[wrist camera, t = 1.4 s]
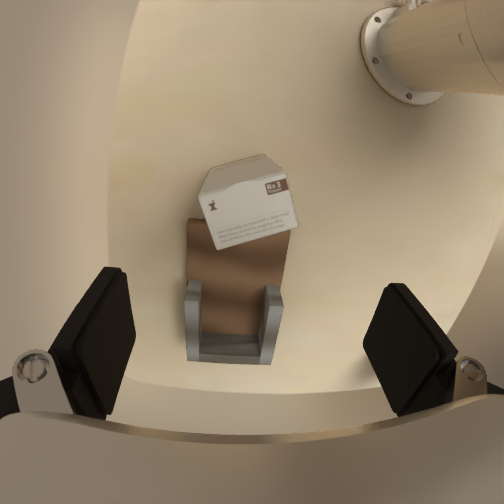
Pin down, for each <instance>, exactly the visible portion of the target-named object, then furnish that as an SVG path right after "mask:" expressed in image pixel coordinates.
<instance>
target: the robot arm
mask: <svg viewBox="0 0 504 504" xmlns="http://www.w3.org/2000/svg"><path fill="white" fill-rule="evenodd" d="M361 48H362V53H363V56H364V60H365V62H366V64H367V67H368V69H369V71H370V72H371V74H372V75H373V77H374V78H375V80H376V81H377V82H378V83H379V85H380V86H381V87H382V88H383V89H384V90H385V91H387V92H388V93H389V94H390V95H392V96H393V97H395V98H396V99H398V100H400V101H403V102H405V103H408V104H413V105H427V104H431V103H433V102H436V101H437V100H438V99H440V98H441V97H442V96H443V95H444V93H445V92H463V93H480V94H492V95H502V96H504V0H421V6H419V7H417V0H406V5H404V6H403V7H401V8H397V7H388V8H384V9H381V10H378V11H377V12H375V13H373V14H372V15H371V16H370V17H369V18H368V19H367V20H366V22H365V24H364V26H363V29H362V32H361ZM372 61H373V62H372ZM406 96H407V97H406ZM135 338H136V331H135V326H134V320H133V315H132V309H131V303H130V297H129V290H128V283H127V276H126V273H124V272H122V270H121V269H120V268H116V267H104V268H103V269H102V270H101V272H100V273H99V274H98V276H97V277H96V279H95V280H94V281H93V283H92V284H91V286H90V287H89V289H88V290H87V291H86V293H85V294H84V296H83V297H82V299H81V300H80V302H79V303H78V304H77V305H76V307H75V309H74V310H73V311H72V313H71V315H70V316H69V318H68V319H67V321H66V323H65V324H64V326H63V327H62V329H61V330H60V332H59V334H58V336H57V337H56V338H55V340H54V342H53V344H52V345H51V347H50V349H49V350H48V352H46V351H43V350H38V349H34V350H29V351H27V352H25V353H23V354H22V355H20V356H19V357H18V358H17V360H16V361H15V362H14V365H13V368H12V375H13V376H11V377H9V378H6V379H4V380H1V381H0V504H504V389H502V388H500V387H498V386H496V385H493V384H491V383H489V382H487V374H486V370H485V369H484V367H483V365H482V364H481V363H480V362H479V361H477V360H476V359H474V358H472V357H468V356H463V357H460V358H459V359H458V360H457V362H456V361H455V360H454V358H455V357H456V355H457V353H458V350H457V349H456V348H455V346H454V345H453V344H452V342H451V341H450V340H449V338H448V337H447V336H446V334H445V333H444V332H443V330H442V329H441V328H440V327H439V325H438V324H437V323H436V321H435V320H434V319H433V318H432V316H431V315H430V314H429V313H428V311H427V310H426V309H425V308H424V307H423V305H422V304H421V303H420V302H419V300H418V299H417V298H416V297H415V296H414V294H413V293H412V292H411V291H410V290H409V289H408V287H407V286H406V285H405V284H403V283H390V284H389V285H388V286H387V287H385V288H384V290H383V293H382V296H381V298H380V301H379V303H378V306H377V308H376V311H375V313H374V316H373V318H372V321H371V323H370V326H369V328H368V330H367V333H366V335H365V337H364V340H363V348H364V350H365V352H366V354H367V356H368V358H369V360H370V363H371V365H372V367H373V369H374V371H375V373H376V375H377V377H378V380H379V382H380V384H381V386H382V388H383V390H384V393H385V395H386V397H387V399H388V402H389V404H390V406H391V408H392V410H393V412H394V413H396V414H397V416H398V417H397V418H393V419H388V420H384V421H379V422H374V423H369V424H364V425H358V426H353V427H346V428H339V429H332V430H324V431H315V432H305V433H292V434H274V435H218V434H200V433H187V432H177V431H168V430H161V429H153V428H145V427H139V426H133V425H127V424H121V423H116V422H111V421H106V420H105V419H106V416H107V414H108V415H111V413H112V411H113V408H114V405H115V401H116V398H117V394H118V391H119V388H120V385H121V382H122V378H123V375H124V372H125V369H126V366H127V363H128V360H129V357H130V354H131V351H132V348H133V345H134V343H135Z"/></svg>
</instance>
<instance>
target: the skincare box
mask: <svg viewBox="0 0 504 504" xmlns="http://www.w3.org/2000/svg"><path fill="white" fill-rule="evenodd" d="M197 198H198V200H199V203H200V205H201V208H202V211H203V213H204V216H205V219H206V222H207V224H208V227H209V230H210V233H211V236H212V238H213V241H214V245H215V247H216V249H217V250H221V249H224V248H227V247H231V246H234V245H238V244H241V243H244V242H248V241H251V240H255V239H258V238H262V237H265V236H269V235H272V234H276V233H279V232H283V231H286V230H290V229H293V228H297V227H298V221H297V217H296V212H295V208H294V204H293V200H292V195H291V191H290V186H289V182H288V178H287V174H286V172H285V171H284V170H283V169H281V168H280V167H279V166H278V165H277V164H275V163H274V162H273V161H272V160H271V159H269V158H268V157H267V156H266V155H265V154H262V155H258V156H254V157H251V158H247V159H243V160H239V161H236V162H232V163H229V164H225V165H222V166H218V167H215V168H212V169H210V171H209V173H208V175H207V177H206V179H205V181H204V183H203V185H202V188H201V190H200V192H199V194H198V196H197Z"/></svg>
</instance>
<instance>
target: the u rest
mask: <svg viewBox="0 0 504 504" xmlns="http://www.w3.org/2000/svg"><path fill="white" fill-rule="evenodd" d="M289 237H290V230H286V231H283V232H279V233H276V234H272V235H269V236H265V237H262V238H258V239H255V240H251V241H248V242H244V243H241V244H238V245H234V246H231V247H227V248H224V249H221V250H217V249H216V247H215V245H214V241H213V238H212V236H211V233H210V230H209V227H208V224H207V222H206V220H205V219H189V220H188V222H187V291H186V295H185V299H184V311H185V332H186V349H187V361H197V362H210V363H227V364H254V365H271V362H272V357H273V353H274V349H275V344H276V340H277V335H278V331H279V326H280V321H281V317H282V312H283V307H284V306H283V301H282V297H281V293H280V287H281V282H282V277H283V271H284V266H285V260H286V254H287V249H288V243H289Z"/></svg>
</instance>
